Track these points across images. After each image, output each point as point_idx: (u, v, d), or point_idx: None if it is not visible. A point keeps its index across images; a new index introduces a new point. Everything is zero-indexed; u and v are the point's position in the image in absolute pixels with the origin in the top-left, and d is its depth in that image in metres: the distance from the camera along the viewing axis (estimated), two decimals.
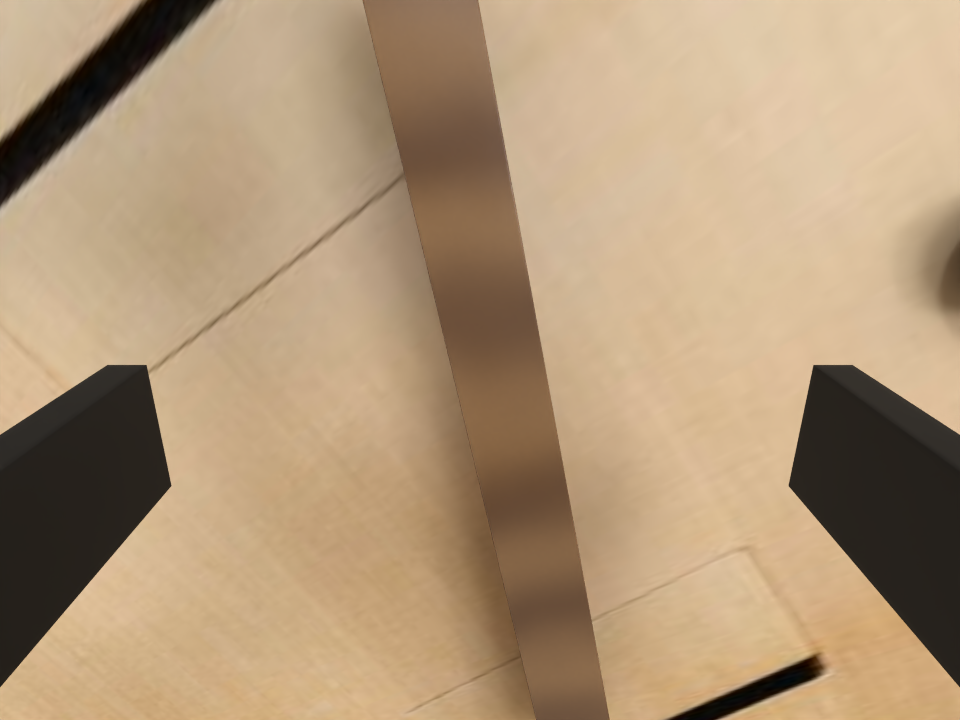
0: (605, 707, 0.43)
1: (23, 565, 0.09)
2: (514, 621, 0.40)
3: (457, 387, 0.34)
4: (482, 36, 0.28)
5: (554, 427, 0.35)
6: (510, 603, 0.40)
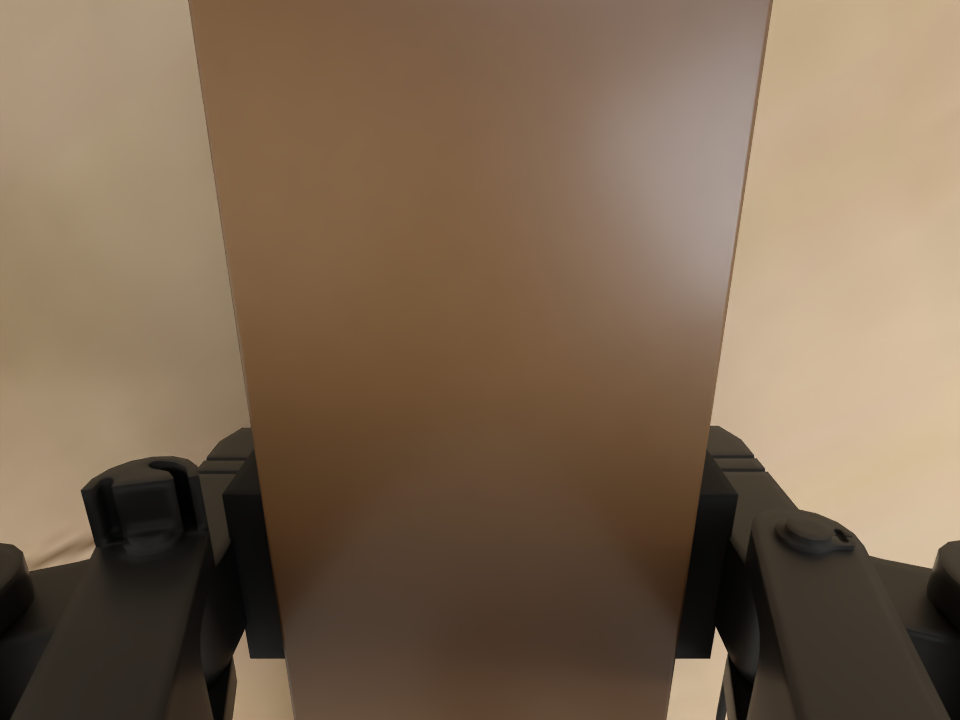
0: None
1: None
2: None
3: None
4: (718, 318, 0.06)
5: None
6: None
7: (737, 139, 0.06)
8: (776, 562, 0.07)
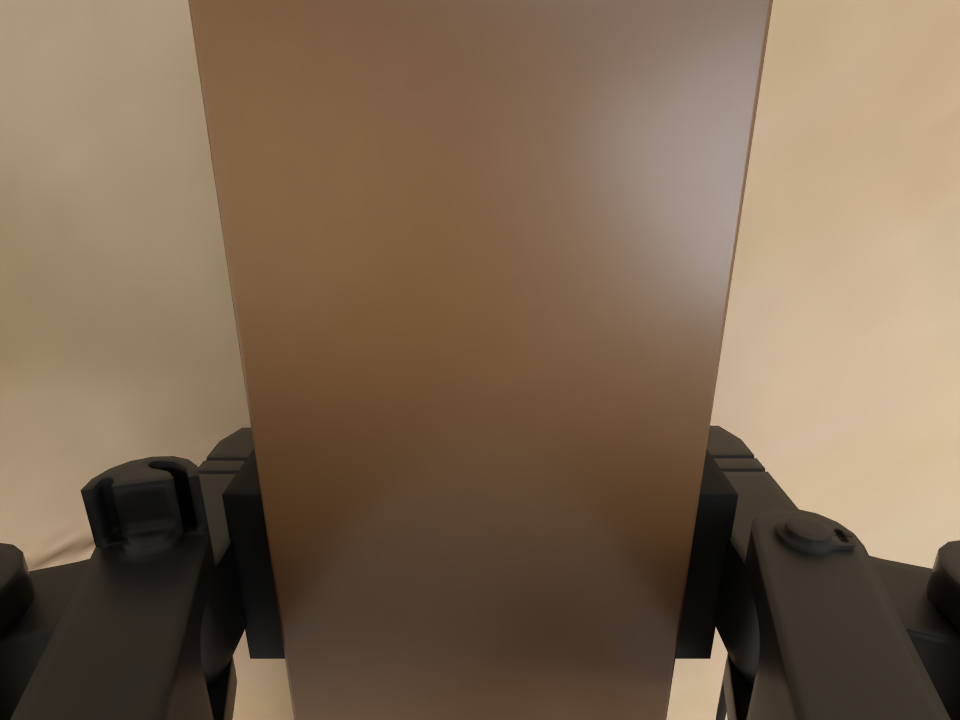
0: None
1: None
2: None
3: None
4: (718, 318, 0.06)
5: None
6: None
7: (737, 139, 0.06)
8: (776, 561, 0.07)
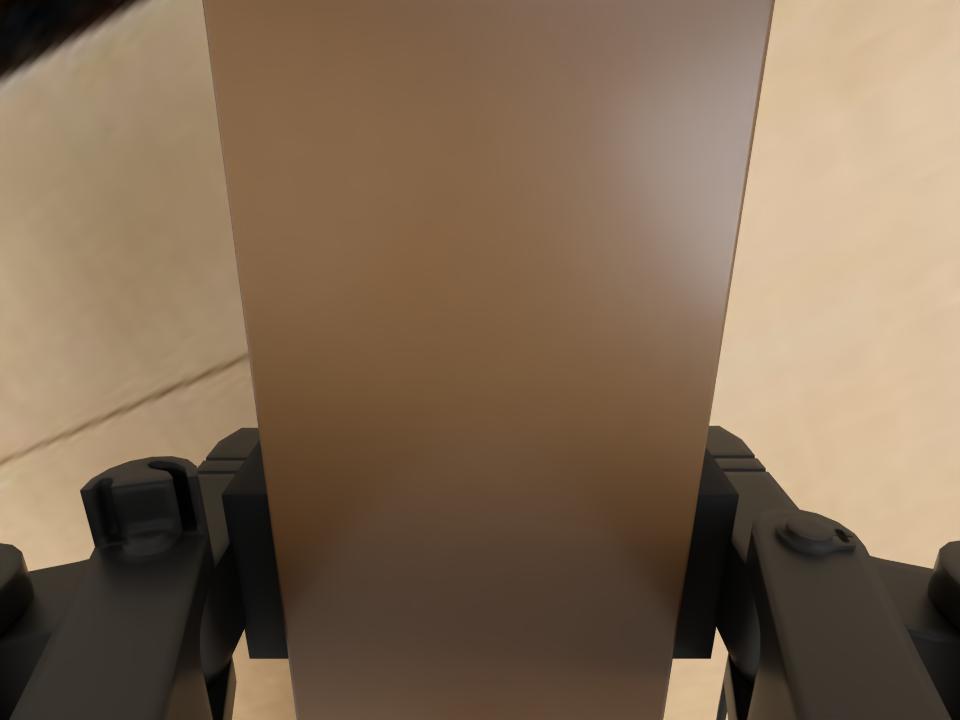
0: None
1: None
2: None
3: None
4: (718, 317, 0.06)
5: None
6: None
7: (737, 141, 0.06)
8: (777, 562, 0.07)
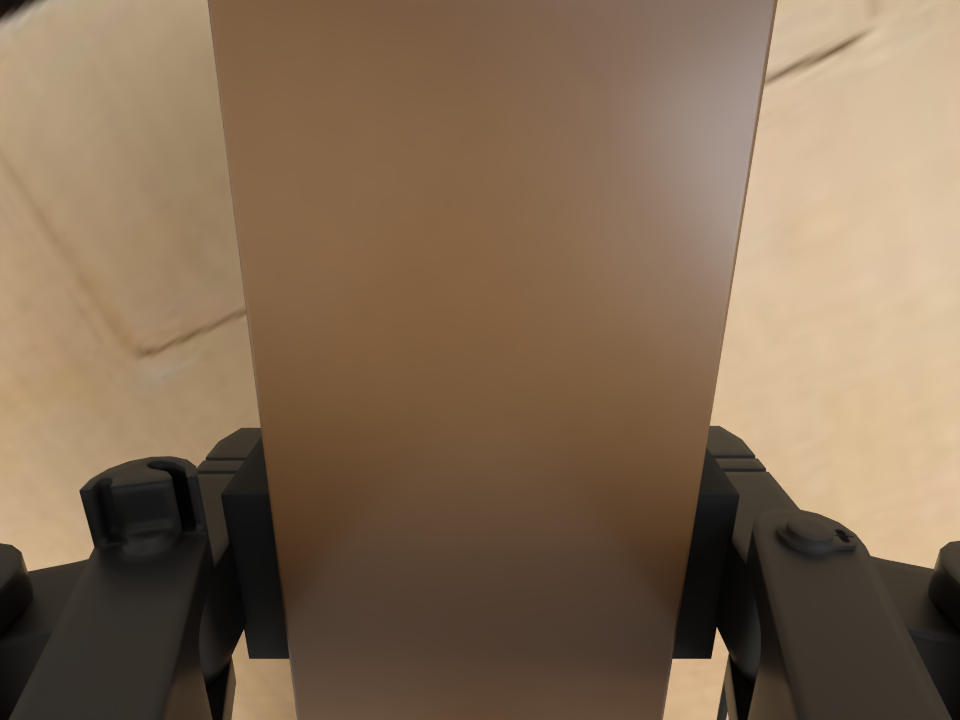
0: None
1: None
2: None
3: None
4: (720, 316, 0.06)
5: None
6: None
7: (741, 141, 0.06)
8: (778, 562, 0.07)
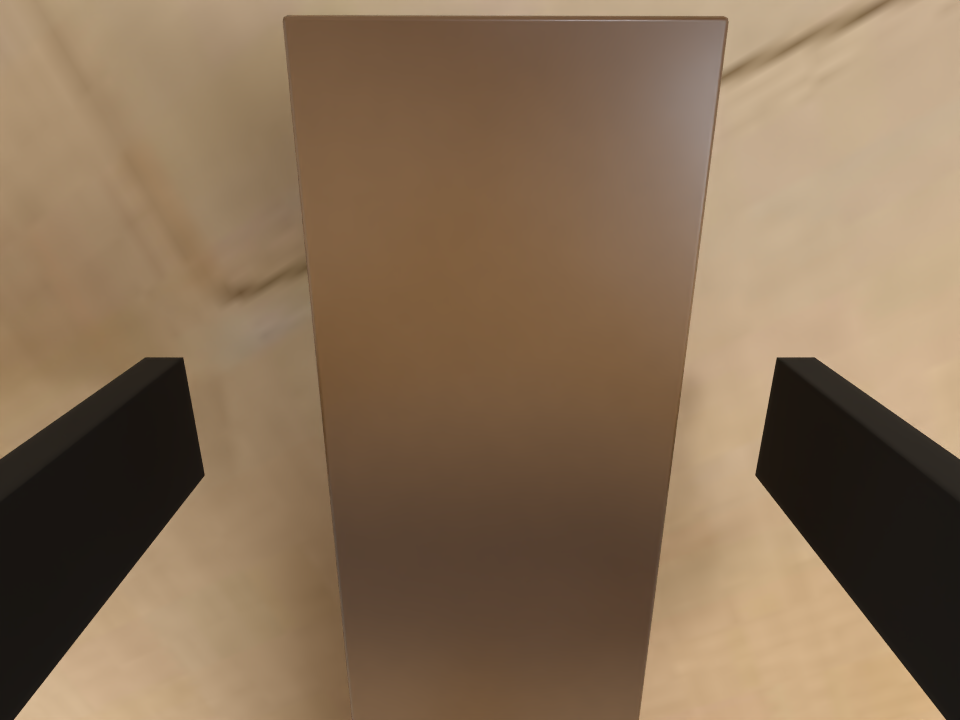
0: None
1: (78, 546, 0.09)
2: None
3: None
4: (685, 312, 0.08)
5: None
6: None
7: (696, 177, 0.07)
8: None
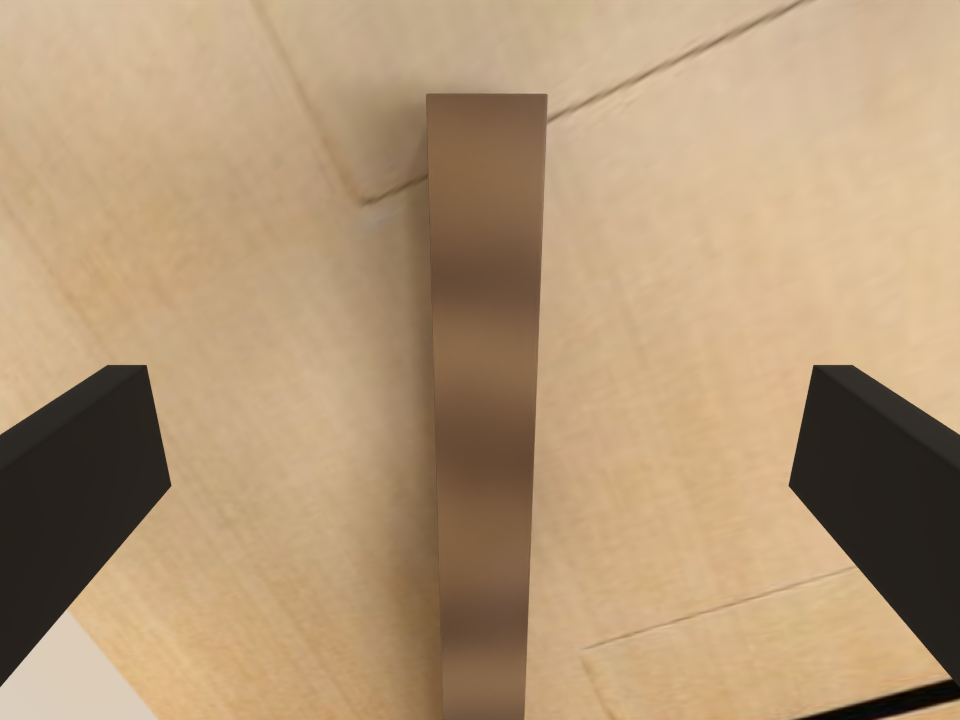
0: None
1: (23, 565, 0.09)
2: None
3: (438, 507, 0.33)
4: (542, 180, 0.27)
5: (528, 562, 0.34)
6: (445, 719, 0.38)
7: (542, 138, 0.26)
8: None
